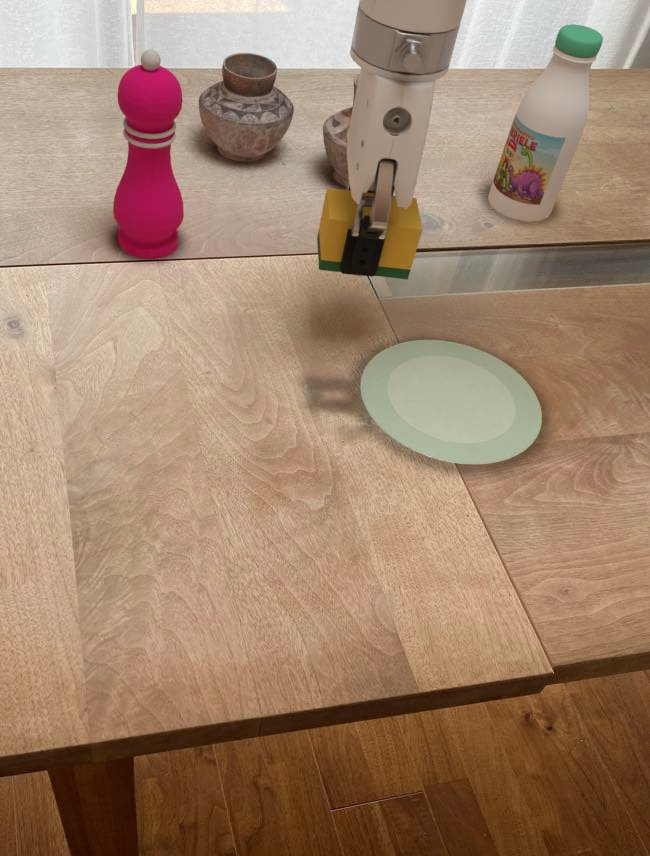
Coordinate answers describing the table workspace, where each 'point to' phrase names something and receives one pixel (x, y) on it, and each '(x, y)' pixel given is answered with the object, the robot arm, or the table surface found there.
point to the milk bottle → (546, 129)
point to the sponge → (340, 216)
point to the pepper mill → (149, 161)
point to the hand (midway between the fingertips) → (355, 252)
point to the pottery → (262, 114)
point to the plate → (451, 402)
